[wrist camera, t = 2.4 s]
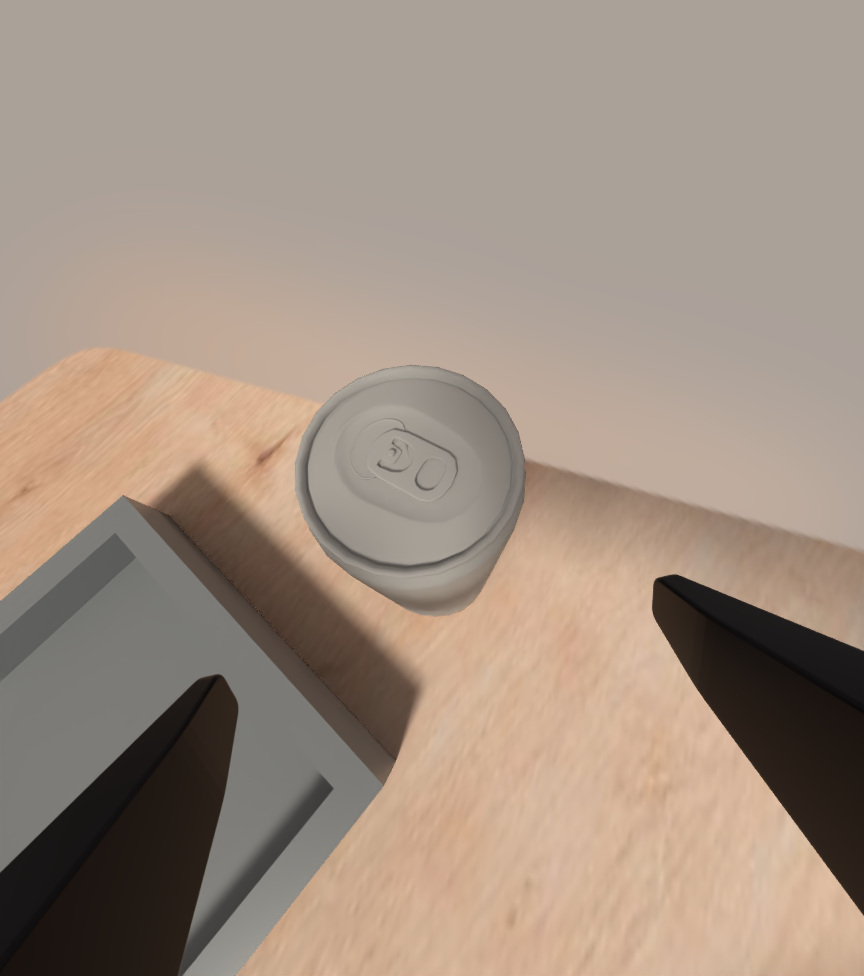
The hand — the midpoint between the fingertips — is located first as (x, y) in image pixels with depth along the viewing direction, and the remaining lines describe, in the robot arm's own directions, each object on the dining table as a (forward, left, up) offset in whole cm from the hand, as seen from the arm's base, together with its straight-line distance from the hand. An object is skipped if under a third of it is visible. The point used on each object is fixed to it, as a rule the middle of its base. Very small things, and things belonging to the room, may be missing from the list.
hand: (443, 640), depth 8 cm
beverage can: (+3, -2, -11) cm, 11 cm away
